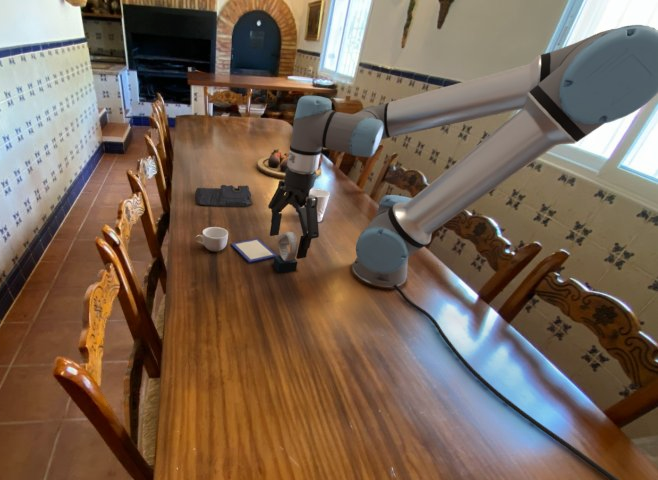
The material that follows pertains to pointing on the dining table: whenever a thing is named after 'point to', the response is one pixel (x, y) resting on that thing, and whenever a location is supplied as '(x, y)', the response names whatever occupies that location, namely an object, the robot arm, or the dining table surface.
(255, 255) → the coaster
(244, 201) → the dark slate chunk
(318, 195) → the white cup
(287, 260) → the watch
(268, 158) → the wooden plate
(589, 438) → the dining table surface
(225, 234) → the teacup
